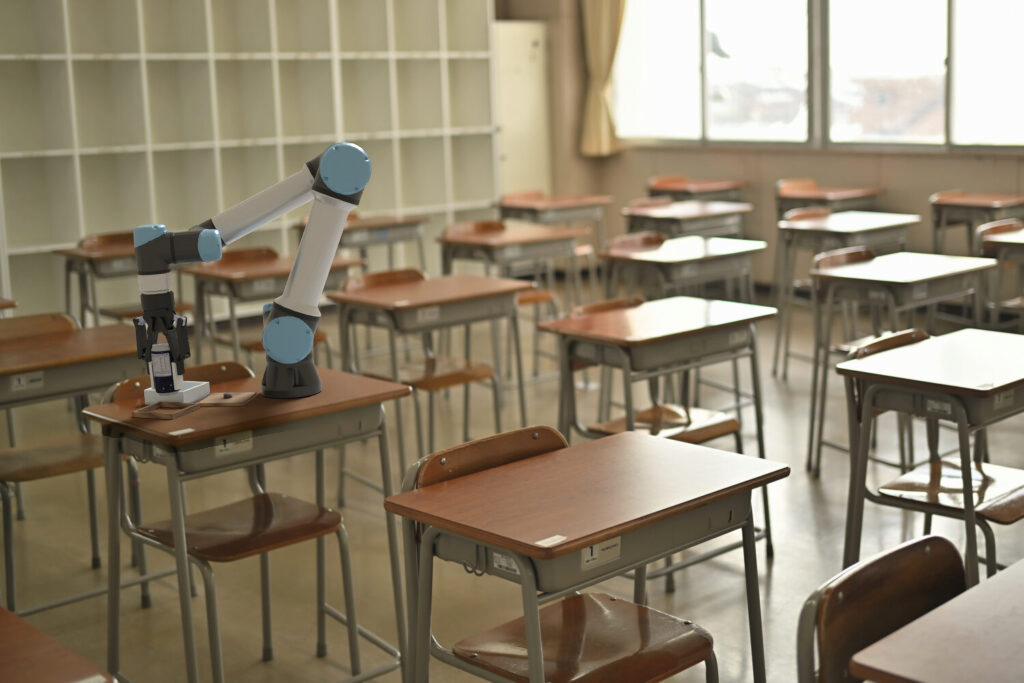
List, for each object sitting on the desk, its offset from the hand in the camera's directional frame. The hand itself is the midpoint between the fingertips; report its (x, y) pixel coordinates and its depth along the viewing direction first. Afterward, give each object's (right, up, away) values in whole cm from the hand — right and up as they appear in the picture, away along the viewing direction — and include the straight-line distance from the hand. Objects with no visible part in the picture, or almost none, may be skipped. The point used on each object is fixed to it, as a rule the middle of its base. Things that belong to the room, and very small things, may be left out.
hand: (167, 388), depth 280 cm
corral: (-1, -6, +1) cm, 6 cm away
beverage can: (0, -2, 0) cm, 2 cm away
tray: (-1, -4, +14) cm, 14 cm away
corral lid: (+11, -4, +11) cm, 17 cm away
